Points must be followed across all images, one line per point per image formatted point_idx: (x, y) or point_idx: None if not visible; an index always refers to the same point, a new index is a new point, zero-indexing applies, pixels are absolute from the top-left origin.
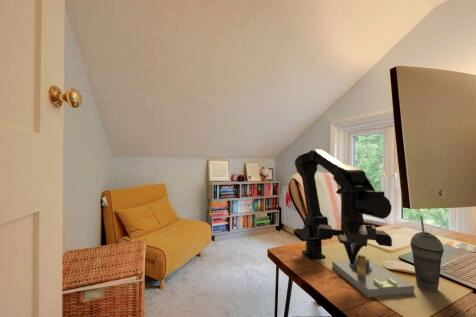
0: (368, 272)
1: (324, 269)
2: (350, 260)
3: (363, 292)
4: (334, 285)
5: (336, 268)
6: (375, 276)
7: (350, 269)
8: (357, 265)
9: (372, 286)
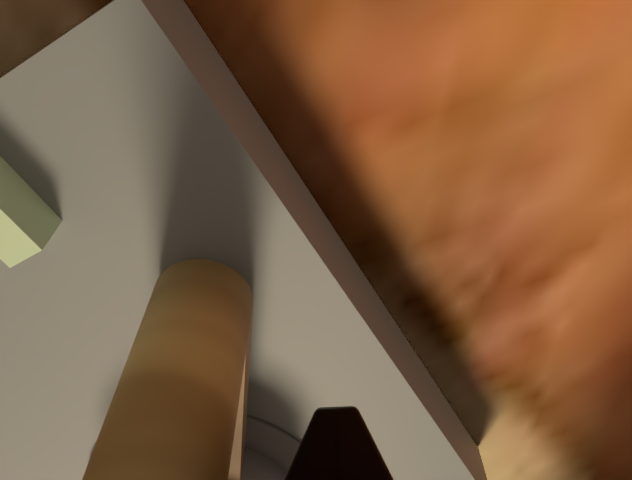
0: None
1: (576, 394)
2: (370, 467)
3: (212, 48)
4: (562, 102)
5: (455, 427)
6: (48, 374)
7: None
8: (234, 476)
9: (71, 119)
